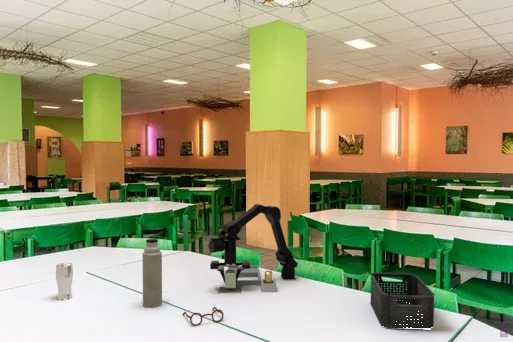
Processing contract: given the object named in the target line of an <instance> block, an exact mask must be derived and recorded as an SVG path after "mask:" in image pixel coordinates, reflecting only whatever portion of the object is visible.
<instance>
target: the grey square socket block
mask: <svg viewBox="0 0 513 342" xmlns="http://www.w3.org/2000/svg"><path fill="white" fill-rule="evenodd" d="M259 286H260V287H259V288H260V293H276V292H277V282H276V279H274V278H272V283H265V279H261V280H260V285H259Z"/></svg>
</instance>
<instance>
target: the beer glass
mask: <svg viewBox="0 0 513 342" xmlns="http://www.w3.org/2000/svg"><path fill="white" fill-rule="evenodd" d="M73 267H74V266H73V263H72V262H62V263H59V264H56V267H55V279H56V284H57V298H58V299H67V300H69V299H68V298H70V299H71V297H72V298H73V292H72V286H73V280H74V279H73V278H74V269H73ZM57 298H56V299H57ZM58 299H57V300H58Z"/></svg>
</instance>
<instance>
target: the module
mask: <svg viewBox="0 0 513 342" xmlns="http://www.w3.org/2000/svg"><path fill="white" fill-rule="evenodd" d="M224 273H225V283H224V287H225V288H236V270H228V269H227V270H226V269H224Z"/></svg>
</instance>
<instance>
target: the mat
mask: <svg viewBox="0 0 513 342" xmlns="http://www.w3.org/2000/svg"><path fill="white" fill-rule="evenodd" d="M217 292H218V293H220V294H222V293H227V294H228V293H229V294H230V293H243V286H236V288H225V286H218V291H217Z"/></svg>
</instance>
